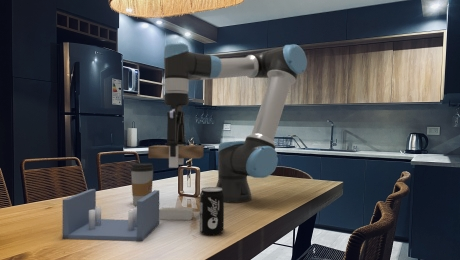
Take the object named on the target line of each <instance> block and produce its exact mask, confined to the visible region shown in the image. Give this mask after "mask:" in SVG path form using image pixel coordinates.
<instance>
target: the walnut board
mask: <svg viewBox="0 0 460 260" xmlns="http://www.w3.org/2000/svg"><path fill="white" fill-rule="evenodd" d="M177 146H178V158H184V159H201V158H203V157H204V145H197V144H195V145H187V144H182V145H177ZM147 148H148V152H147V153H148V154H147V155H148V159H169V146H166V144H165V145H161V144H160V145H159V144H158V145H151V146H148V147H147Z"/></svg>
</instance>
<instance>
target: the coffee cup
mask: <svg viewBox="0 0 460 260" xmlns="http://www.w3.org/2000/svg"><path fill="white" fill-rule="evenodd" d="M130 173H131V192H132V193H131V195H132V203H133V205H134V206H136V207H137V201H138V200H140V199H141V198H143V197H145V196H146V195H148V194H149V193H151V192H153V177H154V166H153V163H152V162H151V163H150V162H142V163H141V162H140V163H138V162H137V163H133V164H131V167H130Z"/></svg>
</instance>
